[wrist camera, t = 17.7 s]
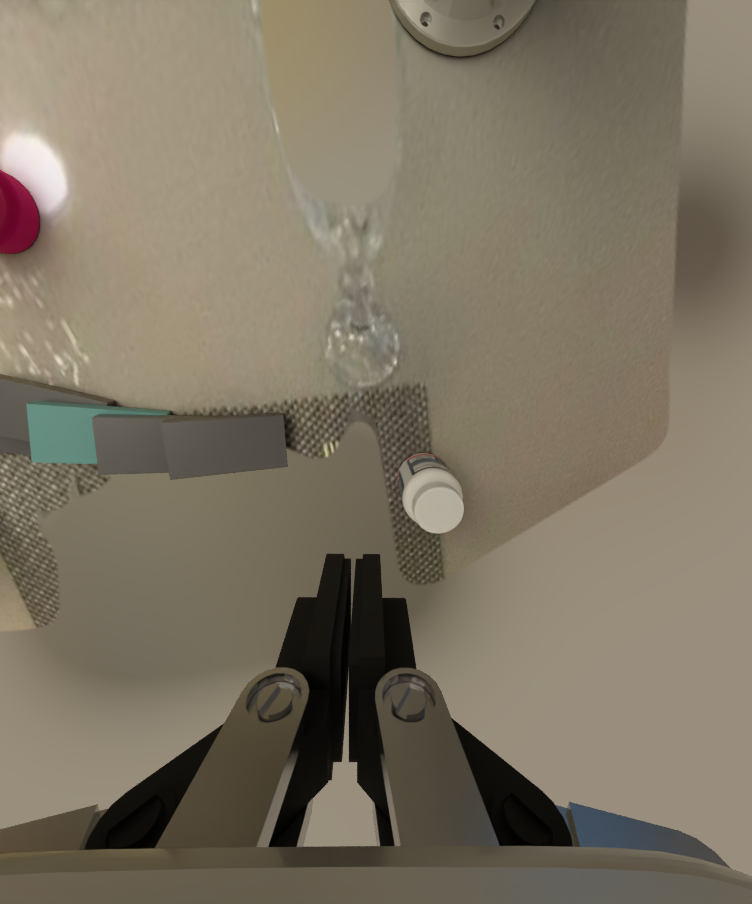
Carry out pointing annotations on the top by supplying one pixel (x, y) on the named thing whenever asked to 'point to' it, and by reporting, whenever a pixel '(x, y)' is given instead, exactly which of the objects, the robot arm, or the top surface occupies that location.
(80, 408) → the domino
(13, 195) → the pepper mill
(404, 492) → the pill bottle
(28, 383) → the domino
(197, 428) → the domino
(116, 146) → the top surface
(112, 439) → the domino
